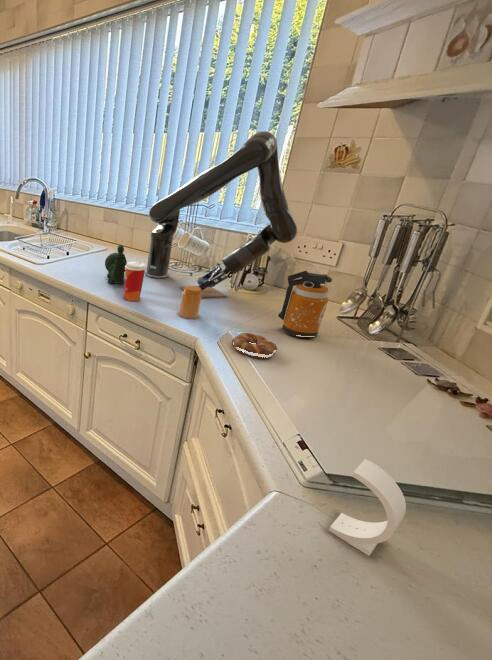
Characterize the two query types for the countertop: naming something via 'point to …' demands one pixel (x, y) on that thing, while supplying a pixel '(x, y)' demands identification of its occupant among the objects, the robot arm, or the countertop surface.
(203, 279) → the lid
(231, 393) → the countertop surface
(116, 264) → the toy figurine
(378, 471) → the headphone stand
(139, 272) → the paper cup
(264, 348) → the pretzel
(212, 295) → the mat
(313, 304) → the canister
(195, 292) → the jar
